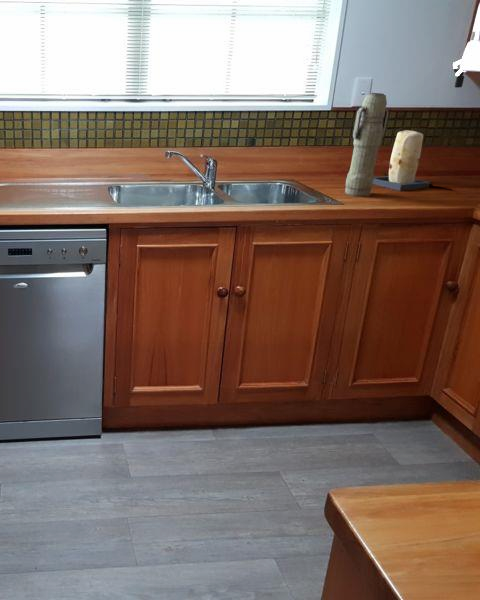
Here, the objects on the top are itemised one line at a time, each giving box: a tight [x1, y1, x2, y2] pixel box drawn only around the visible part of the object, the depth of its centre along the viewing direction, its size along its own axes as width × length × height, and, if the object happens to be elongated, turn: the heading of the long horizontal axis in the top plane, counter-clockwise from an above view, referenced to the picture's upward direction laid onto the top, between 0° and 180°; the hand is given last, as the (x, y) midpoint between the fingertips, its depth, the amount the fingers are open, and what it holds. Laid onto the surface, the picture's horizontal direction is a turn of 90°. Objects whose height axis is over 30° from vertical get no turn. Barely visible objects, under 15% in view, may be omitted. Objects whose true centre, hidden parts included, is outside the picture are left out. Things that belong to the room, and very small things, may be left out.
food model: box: [388, 129, 424, 185], centre depth 233 cm, size 10×7×20 cm
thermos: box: [344, 92, 390, 198], centre depth 216 cm, size 9×12×35 cm
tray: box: [372, 175, 431, 192], centre depth 237 cm, size 15×16×2 cm
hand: (470, 88), depth 224 cm, fingers open, 9 cm apart
